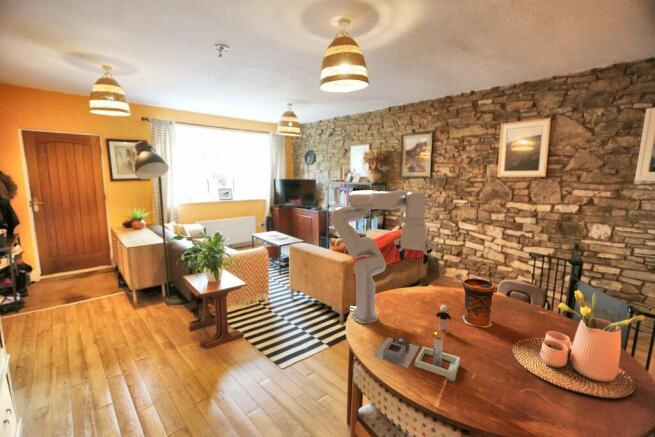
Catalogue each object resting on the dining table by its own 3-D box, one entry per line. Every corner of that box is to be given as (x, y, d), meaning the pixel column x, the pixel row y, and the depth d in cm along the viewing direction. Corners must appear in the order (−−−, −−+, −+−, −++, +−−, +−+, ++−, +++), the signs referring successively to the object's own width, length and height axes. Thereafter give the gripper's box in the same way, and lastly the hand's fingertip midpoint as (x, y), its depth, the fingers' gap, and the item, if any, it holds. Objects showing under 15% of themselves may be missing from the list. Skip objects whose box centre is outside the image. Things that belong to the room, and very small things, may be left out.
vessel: (460, 325, 144) (463, 285, 141) (459, 312, 157) (462, 276, 154) (494, 331, 139) (497, 289, 136) (490, 317, 152) (493, 279, 149)
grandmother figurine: (451, 329, 140) (452, 304, 138) (451, 334, 137) (453, 308, 135) (434, 327, 143) (435, 302, 141) (434, 331, 139) (435, 305, 137)
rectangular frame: (414, 368, 114) (415, 360, 113) (422, 353, 123) (423, 346, 122) (454, 381, 106) (454, 373, 106) (459, 364, 115) (459, 357, 115)
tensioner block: (373, 358, 120) (373, 349, 120) (388, 339, 133) (388, 330, 133) (407, 370, 113) (407, 360, 112) (419, 348, 126) (420, 340, 125)
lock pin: (429, 365, 114) (431, 333, 112) (432, 359, 117) (434, 328, 115) (441, 369, 111) (443, 337, 109) (444, 363, 115) (446, 331, 113)
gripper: (391, 221, 125) (390, 260, 128) (434, 225, 116) (432, 267, 118) (397, 218, 131) (396, 256, 134) (438, 222, 122) (436, 262, 124)
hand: (413, 261), depth 126 cm, fingers open, 9 cm apart
